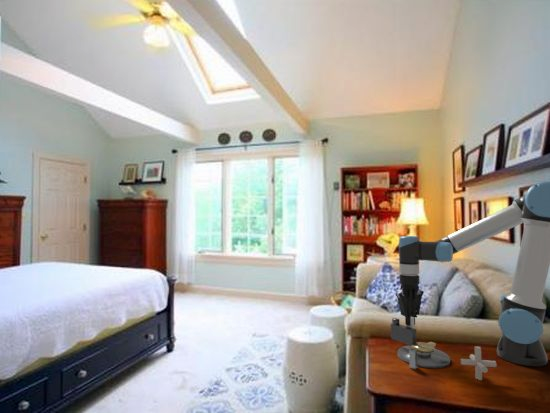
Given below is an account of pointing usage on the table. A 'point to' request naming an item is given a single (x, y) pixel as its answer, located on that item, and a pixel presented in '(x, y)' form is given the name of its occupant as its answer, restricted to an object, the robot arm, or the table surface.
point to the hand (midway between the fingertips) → (410, 333)
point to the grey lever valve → (409, 337)
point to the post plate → (423, 358)
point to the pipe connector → (478, 363)
